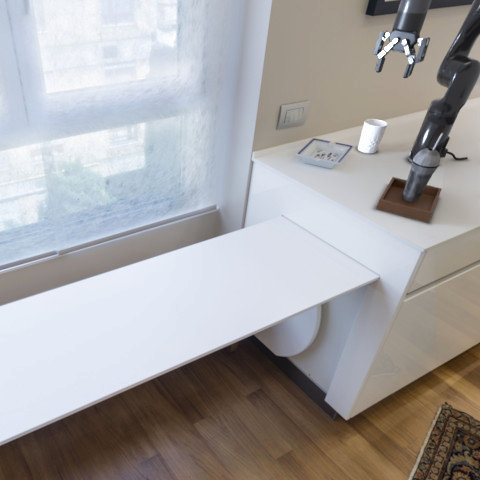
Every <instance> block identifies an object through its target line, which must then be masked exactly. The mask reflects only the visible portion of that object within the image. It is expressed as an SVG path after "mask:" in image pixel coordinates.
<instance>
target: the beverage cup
mask: <svg viewBox="0 0 480 480" xmlns="http://www.w3.org/2000/svg"><path fill="white" fill-rule="evenodd" d="M442 135H443V133H441V135H440V137H439V138H438V140H437V142H436V144H435V146H434V147H433V148H426V149H423V150H421V151H419V152H418V153H417V154H416V155H415V157H414V158H413V160H412V163H411V165H410V170H409V172H408V176H407V179H406V180H407V182H406V185H405V188H404V191H403V196H402V199H403V200H405V201H407V202H417V201H418V199H419V197H420V196H421V194H422V192H423V191H424V189H425V187H426V185H428V183H429V181H431V178H432V176H433V175H434V174H435V172H436V171H437V169H438V168H439V167H440V163H441V159H440V155H439V153H438V151H437V150H435V148H436V146H437V144H438V142H439V141H440V139H441V137H442Z"/></svg>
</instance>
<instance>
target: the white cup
mask: <svg viewBox="0 0 480 480" xmlns="http://www.w3.org/2000/svg"><path fill="white" fill-rule="evenodd" d="M388 125H389V124H388V122H386V121H384V120H383V119H382V120H381V119H377V118H367V119H366V120H364V122H363V125H362V128H361V129H362V130H361V132H360V137H359V142H358V146H357V151H359V152H361V153H364V154H376V152H377V151H378V149H379V146H380V144H381V143H382V139H383V137H384V135H385V131H386V130H387V127H388Z"/></svg>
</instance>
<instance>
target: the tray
mask: <svg viewBox="0 0 480 480" xmlns="http://www.w3.org/2000/svg"><path fill="white" fill-rule="evenodd" d="M406 182H407V179H403V178H399V177H395V176H392V177H391V179H390V180H389V183H388V184H387V186H386V187H385V189H384V191H383V193H382V195H380V198H379V199H378V202H377V204H376V207H375V209H376V210H378V211H382V212H386V213H390V214H392V215H393V214H394V215H396V216H397V215H398V216H401V217H405V218H408V219H412V220H415V221H419V222H423V223H427V224H428V223H429V222H430V219H431V218H432V215H433V213H434V211H435V207H436V205H437V203H438V200H439V198H440V195H441V193H442V188H441V187H437V186H431V185H428V184H427V185H426V187H425V189H424V191H423V192H422V194H421V196H420V197H419V199H418V201H417V202H407V201H405V200H403V199H402V196H403V191H404V188H405V185H406Z"/></svg>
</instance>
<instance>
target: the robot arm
mask: <svg viewBox="0 0 480 480" xmlns="http://www.w3.org/2000/svg"><path fill="white" fill-rule="evenodd" d="M431 3H432V0H400V2H399V4H398V9H397V12H396V16H395V18H394V22H393V26H392V29H391V32H389V31H388V30H383V31H380V32H379V35H378V38H377V40H376V43H375V45H374V48H373V52H372V54H373V55H374V56H376V57H377V61H376V65H375V69H374V70H375V73H378V74H379V73H381V72H382V70H383V68H384V65H385V61H386V56H388V55H389V53H390V52H393V53H395V52H397V53H401V54H404V53H405V57H406V58H407V61H408V63H407V65H406V67H405V70H404V73H403V76H402V78H403V79H408V78H409V77H410V76H412V74H413V71H414V68H415V65H416V64H419V63H422V62H424V60H425V57H426V54H427V51H428V48H429V44H430V42H431V37H429V36H427V37H421V36H420V34H421V31H422V29H423V26H424V23H425V21H426V18H427V15H428V13H429V9H430V7H431V6H430V5H431ZM479 37H480V0H473V2H472V4H471V5H470V8H469V10H468V12H467V14H466V16H465V17H464V20H463V23H462V24H461V25H460V29H459V30H458V32H457V34H456V36H455V38H454V40H453V41H452V43H451V44H450V47H449V48H448V50H447V52H446V54H445V56H444V57H443V59H442V61H441V63H440V65H439V67H438V69H437V73H436V82H437V83H438V85H440V86H442V87H444V88H447V90H446V91H445V92H444V93H445V94H444V96H443V97H439V98H438V97H437V98H434V99H433V100H431V101H430V103H429V106H428V109H427V111H426V112H425V116H424V118H423V121H422V123H421V126H420V127H419V130H418V134H417V136H416V139H415V140H414V143H413V146H412V147H411V149H410V150H409V152H408V157H407V161H408V162H409V163H411V164H412V160H413V158H414V157H415V155H416V154H417V153H418V152H419V151H421V150H423V149H426V148H433V147H434V146H435V144H436V142H437V140H438V138H439V137H440V135H441V133H443V135H442V137H441V139H440V141H439V142H438V144H437V146H436V148H435V150H437V151H438V153H439V155H440V160H441V159H444V158H446V156H447V155H449V156H451V157H452V159H454V161H463V160H468V158H469V157H468V156H465V157H456V155H455V154H454V153H453V152H451V151H449V149H448V148H447V146H448V143H449V142H450V139H451V137H450V134H451V131H452V129H453V126H454V125H455V122H456V120H457V117H458V116H459V113H460V111H461V109H462V108H463V107H464V106H465V105H466V103H467V102H468V100H469V98H470V96H471V94H472V92H473V90H474V88H475V86H476V85H477V82H478V80H479V79H480V61H479V59H476V58H474V57H473V58H472V57H470V56H469V55H470V53H471V51H472V49H473V47H474V45H475V43H476V42H477V40H478V39H479ZM387 40H388V41H389V44H387V46H385V47H384V44H385V42H386V41H387ZM417 44H418V47H419V48H418V52H417V51H416V47H415V46H416V45H417ZM383 48H384V49H383ZM416 52H417V53H416Z"/></svg>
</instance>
